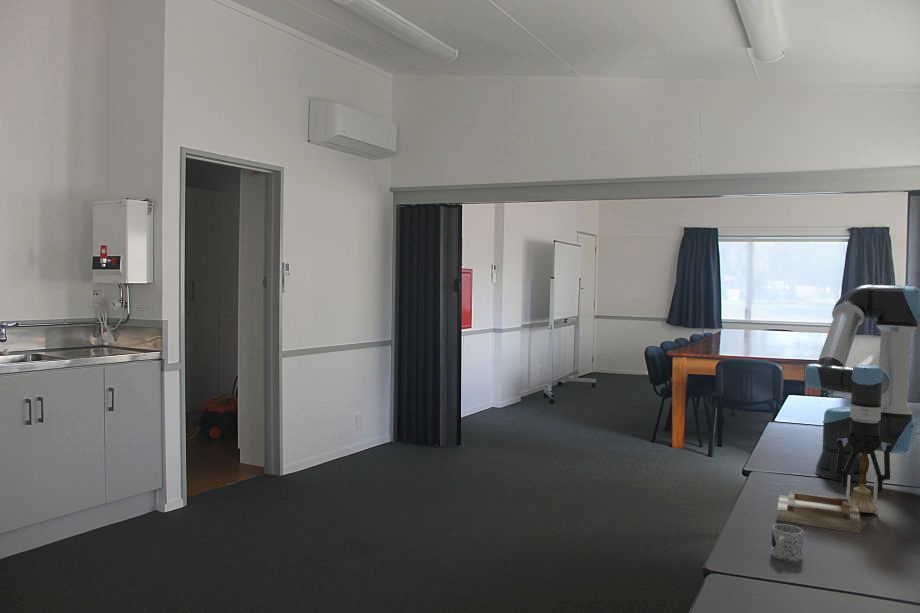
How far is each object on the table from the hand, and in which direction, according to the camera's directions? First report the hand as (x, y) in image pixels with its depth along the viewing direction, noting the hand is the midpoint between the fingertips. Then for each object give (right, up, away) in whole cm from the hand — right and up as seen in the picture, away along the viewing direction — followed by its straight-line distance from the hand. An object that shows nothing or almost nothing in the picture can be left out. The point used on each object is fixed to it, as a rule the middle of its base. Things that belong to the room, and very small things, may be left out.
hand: (861, 500), depth 208 cm
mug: (-38, -4, -36) cm, 53 cm away
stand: (-16, -3, -7) cm, 17 cm away
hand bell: (0, -2, 0) cm, 2 cm away
